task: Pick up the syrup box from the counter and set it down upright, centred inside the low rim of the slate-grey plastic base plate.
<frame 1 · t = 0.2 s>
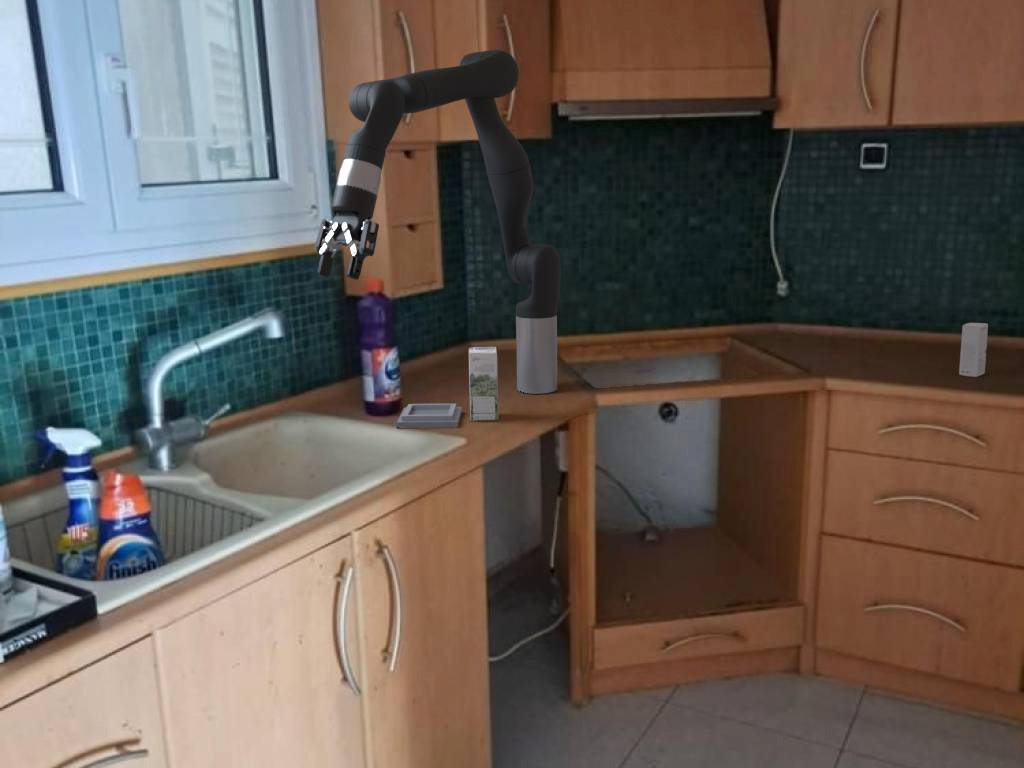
hand: (337, 277, 167), 31 cm above the table, tool tilted 20°, fingers open, 8 cm apart
base plate: (430, 420, 190), on the table
syrup box: (484, 419, 191), on the table
skincare box: (971, 375, 224), on the table
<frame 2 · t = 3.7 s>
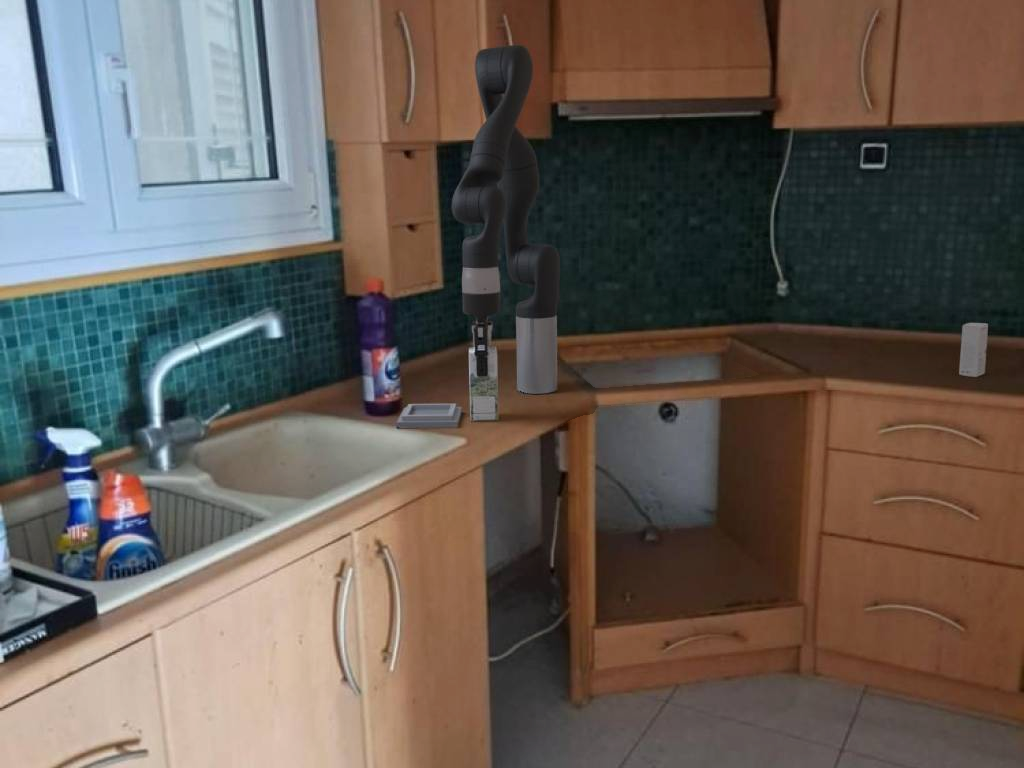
hand: (483, 372, 189), 10 cm above the table, tool pointing down, fingers closed on syrup box, 6 cm apart
syrup box: (484, 419, 191), on the table, touching gripper
everything else where it was.
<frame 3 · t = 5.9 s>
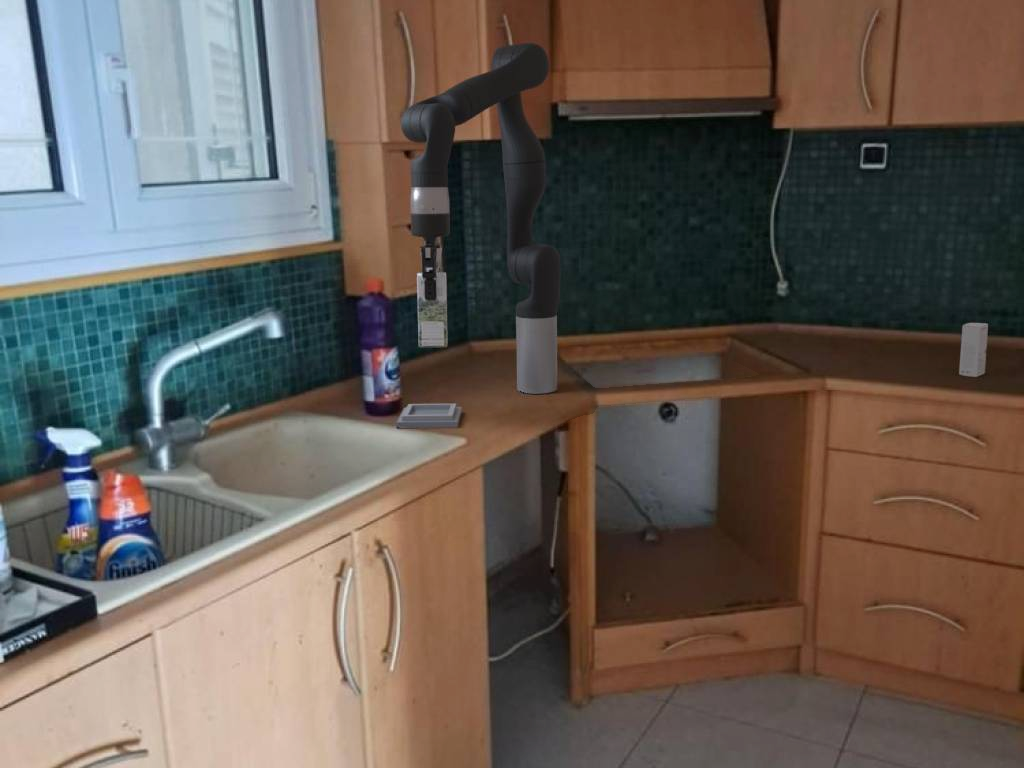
hand: (432, 297, 184), 25 cm above the table, tool pointing down, fingers closed on syrup box, 6 cm apart
syrup box: (433, 346, 186), point 15 cm above the table, touching gripper
everything else where it was.
when the fingers open (11 cm above the table, at t = 8.5 s): syrup box stays where it is, resting on base plate.
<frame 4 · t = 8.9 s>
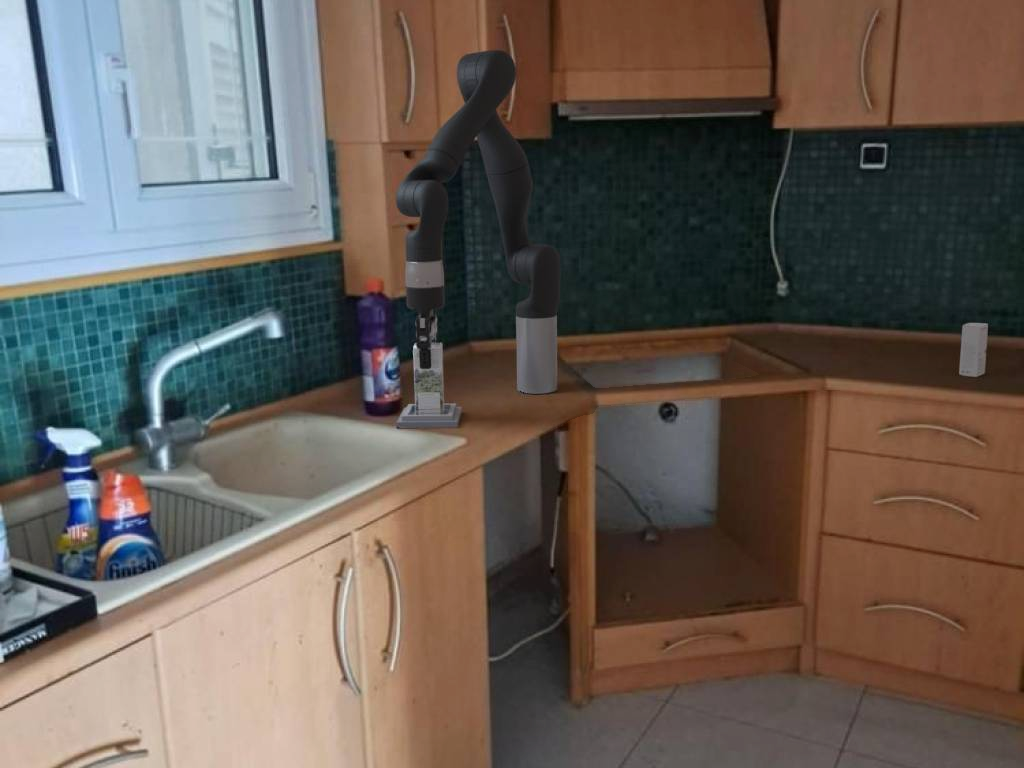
hand: (428, 364, 188), 12 cm above the table, tool pointing down, fingers open, 8 cm apart
syrup box: (430, 415, 190), point 1 cm above the table, touching base plate
everything else where it was.
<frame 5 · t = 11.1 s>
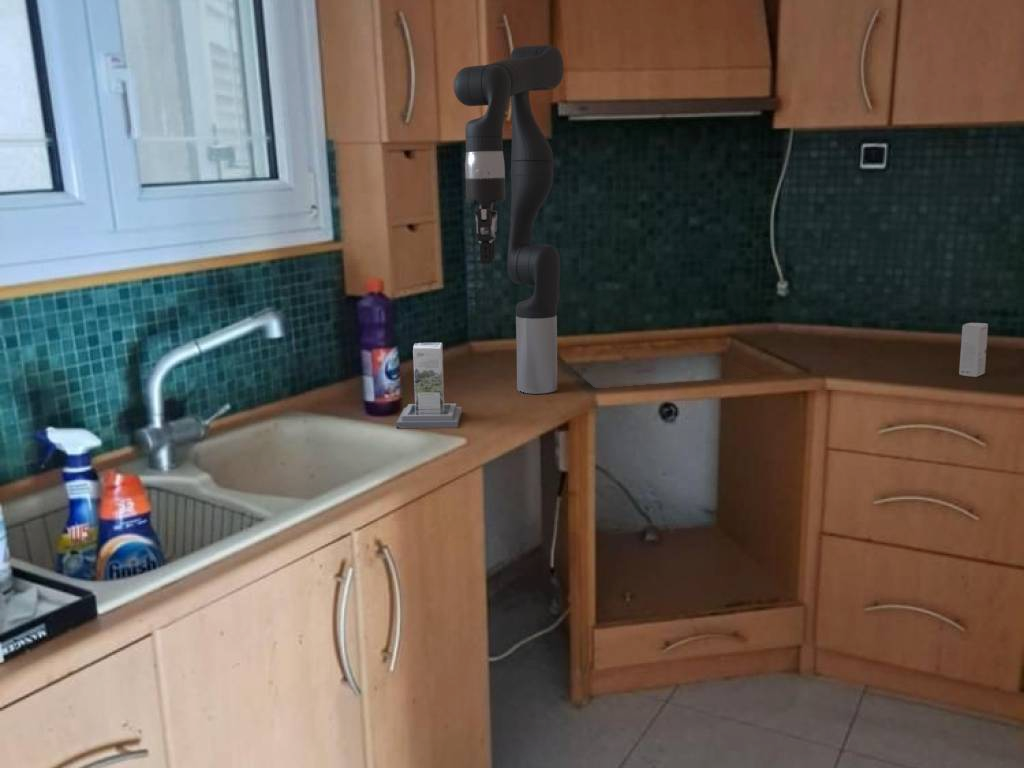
hand: (487, 261, 182), 32 cm above the table, tool pointing down, fingers open, 8 cm apart
nothing on the table moved.
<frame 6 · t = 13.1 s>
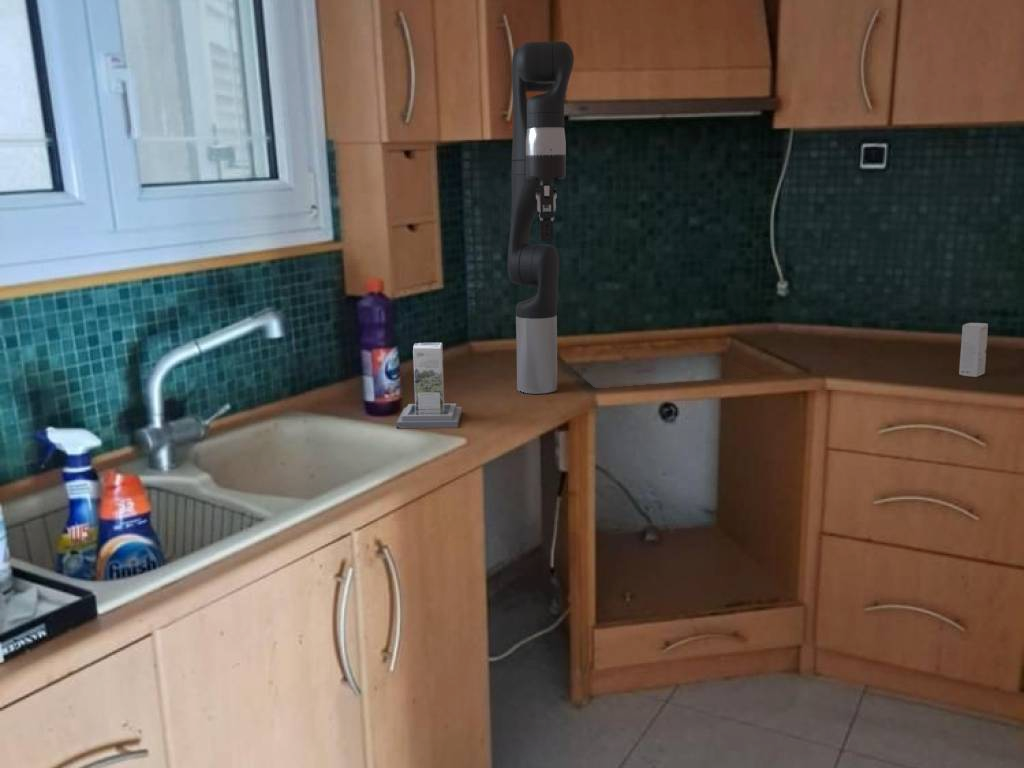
hand: (546, 240, 180), 36 cm above the table, tool pointing down, fingers open, 8 cm apart
nothing on the table moved.
at the end: syrup box 0.1 cm off-centre on the base plate, point 1.0 cm above the base plate's base; syrup box tilted 0°; the gripper is holding nothing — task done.
